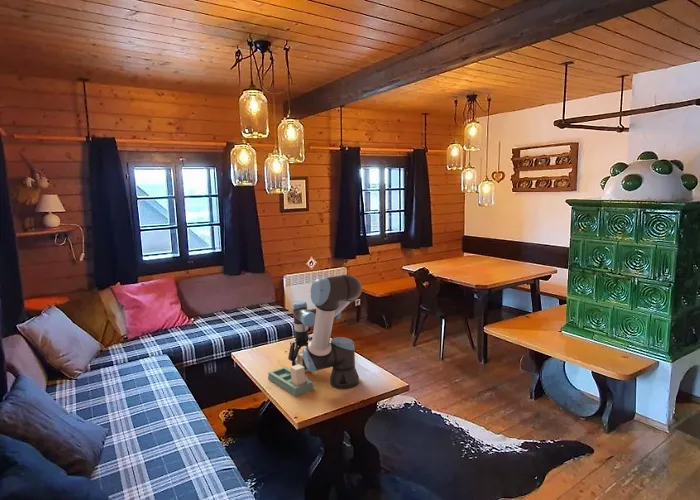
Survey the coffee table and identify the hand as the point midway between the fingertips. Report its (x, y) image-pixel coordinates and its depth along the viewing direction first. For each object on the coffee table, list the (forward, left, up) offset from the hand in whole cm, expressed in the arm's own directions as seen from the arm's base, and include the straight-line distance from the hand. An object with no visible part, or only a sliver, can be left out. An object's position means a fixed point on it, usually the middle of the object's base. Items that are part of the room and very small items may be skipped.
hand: (303, 368), depth 241 cm
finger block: (0, 0, -1) cm, 1 cm away
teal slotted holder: (-9, +15, -1) cm, 17 cm away
